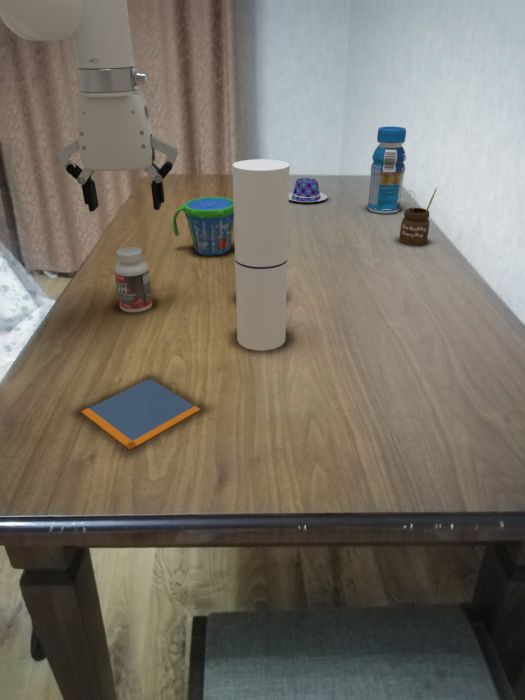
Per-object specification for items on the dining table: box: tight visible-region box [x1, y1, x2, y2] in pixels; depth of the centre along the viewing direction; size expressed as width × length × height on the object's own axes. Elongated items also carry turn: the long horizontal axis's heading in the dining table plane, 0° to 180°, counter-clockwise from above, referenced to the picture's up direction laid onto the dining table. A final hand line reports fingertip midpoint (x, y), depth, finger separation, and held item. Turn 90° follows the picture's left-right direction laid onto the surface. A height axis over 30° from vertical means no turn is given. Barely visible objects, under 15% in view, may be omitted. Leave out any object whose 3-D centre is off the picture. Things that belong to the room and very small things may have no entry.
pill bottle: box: [113, 246, 153, 313], centre depth 87 cm, size 5×5×10 cm
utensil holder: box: [399, 186, 438, 247], centre depth 115 cm, size 6×6×12 cm
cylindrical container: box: [232, 158, 290, 351], centre depth 74 cm, size 7×7×25 cm
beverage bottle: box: [367, 126, 407, 215], centre depth 136 cm, size 8×8×20 cm
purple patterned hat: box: [289, 177, 328, 204], centre depth 149 cm, size 12×12×5 cm
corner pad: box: [81, 378, 202, 452], centre depth 64 cm, size 10×10×1 cm
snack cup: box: [172, 196, 234, 257], centre depth 111 cm, size 16×10×10 cm
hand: (126, 208), depth 82 cm, fingers open, 9 cm apart
